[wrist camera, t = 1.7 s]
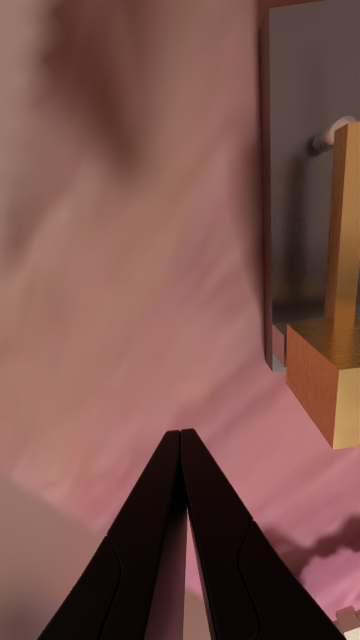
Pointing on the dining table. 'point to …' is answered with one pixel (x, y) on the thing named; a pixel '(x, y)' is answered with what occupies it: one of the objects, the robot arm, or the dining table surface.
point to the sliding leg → (334, 304)
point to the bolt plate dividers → (301, 154)
